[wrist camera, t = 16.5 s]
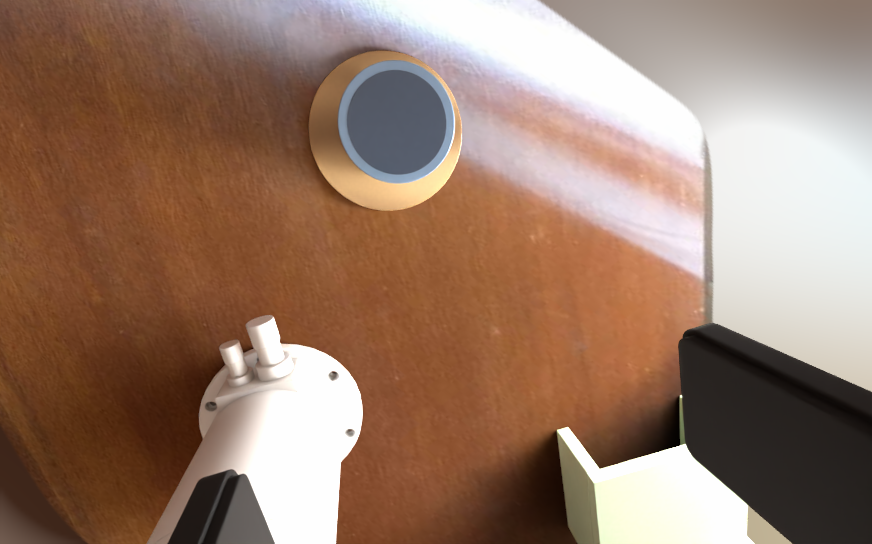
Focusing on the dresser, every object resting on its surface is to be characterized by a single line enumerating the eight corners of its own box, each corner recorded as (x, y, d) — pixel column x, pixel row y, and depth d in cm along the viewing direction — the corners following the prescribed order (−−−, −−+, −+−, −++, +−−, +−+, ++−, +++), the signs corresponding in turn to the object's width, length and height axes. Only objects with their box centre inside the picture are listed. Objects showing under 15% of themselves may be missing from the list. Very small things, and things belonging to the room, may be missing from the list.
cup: (332, 91, 30) (323, 70, 22) (423, 75, 31) (444, 49, 23) (355, 183, 32) (353, 194, 24) (439, 166, 33) (463, 171, 25)
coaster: (290, 66, 29) (289, 64, 29) (447, 39, 31) (448, 38, 30) (331, 223, 33) (330, 224, 32) (471, 193, 34) (472, 194, 34)
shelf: (556, 429, 41) (607, 502, 33) (689, 392, 43) (772, 452, 34) (567, 526, 45) (617, 615, 36) (690, 489, 46) (766, 565, 38)
